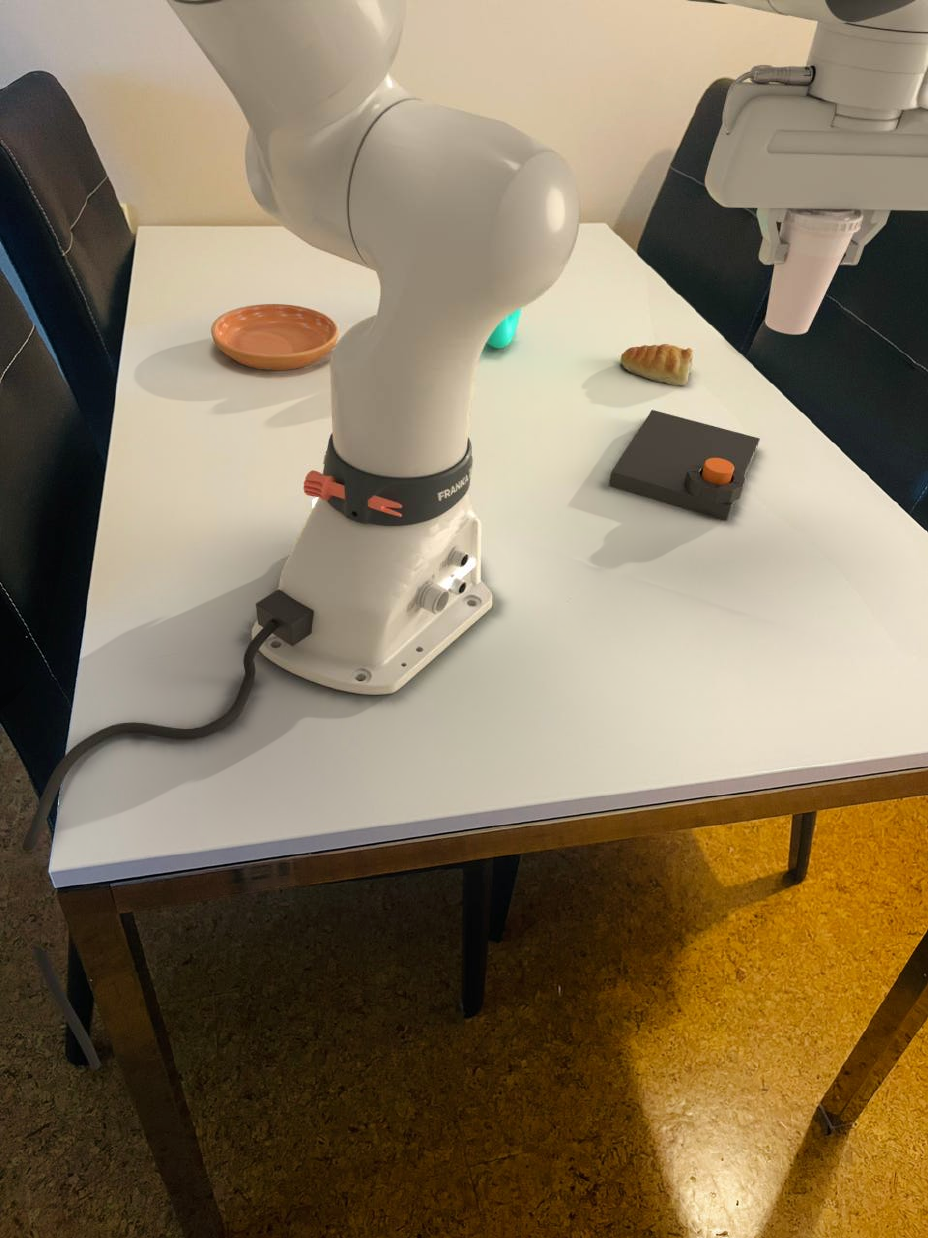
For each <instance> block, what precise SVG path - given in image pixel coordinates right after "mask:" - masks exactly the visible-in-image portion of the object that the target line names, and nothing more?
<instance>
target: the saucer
mask: <svg viewBox="0 0 928 1238" xmlns="http://www.w3.org/2000/svg"><path fill="white" fill-rule="evenodd" d="M210 333H211V337H212V340H213V343H214V345H215V346H216V347H217V348H218V349H219V350H220V351H222V352H223V353H224V354H225V355H226V356H228V357H230V358H231V359H232V360H234V361H235V362H237V363H238V364H241V365H244V366H246V367H248V368H249V367H250V368H253V369H258V370H266V371H287V370H294V369H301V368H304V367H307V366H310V365H312V364H314V363H316V362H317V361H319V360H320V359H322V358H323V356H325V355H326V354H328V353H329V352H330V351H331V349H332V348H334V347H335V346H336V344H337V342H338V336H339V329H338V326H337V324H336V322H335V321H334V320H333V319H332V318H331V317H329V316H328V315H326V314H324V313H323V312H320V311H318V310H315V309H313V308H309V307H304V306H301V305H296V304H295V305H294V304H285V303H284V304H283V303H262V304H253V305H245V306H241V307H238V308H235V309H234V308H233V309H232V310H229V311H226V312H224V313H223V314H221V315H219V317H217V318H216V319H215V320H214V321H213V323H212V325H211V328H210Z"/></svg>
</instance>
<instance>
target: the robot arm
mask: <svg viewBox="0 0 928 1238" xmlns="http://www.w3.org/2000/svg"><path fill="white" fill-rule="evenodd" d="M165 1H166V3H167V4H168V6H169V7H170V8H171V10H172V11H173V12H174V13H175V15H176V17H177V19H179V21H180V22H181V24H182V25H183V26H184V28H185V29H186V30H187V32H188V34H190V37H192V39H193V40H194V42H195V44H196V45H197V47H199V49H200V50H201V51H202V53H203V54H204V56H205V57H206V59H207V60H208V61H209V63H210V65H211V66H212V67H213V69H214V70H215V71H216V73H217V74H218V75H219V77H220V79H221V80H222V81H223V83H224V84H225V85H226V87H227V88H228V90H229V92H230V93H231V94H232V96H233V98H234V99H235V101H236V103H237V104H238V106H239V108H240V110H241V113H242V114H243V116H244V118H245V120H246V122H247V124H248V126H249V127H248V131H247V136H246V140H245V148H244V163H245V165H244V166H245V173H246V178H247V182H248V186H249V188H250V192H251V194H252V196H253V198H254V200H255V202H256V203H257V204H258V206H259V207H260V208H261V210H262V211H263V212H264V213H265V214H266V215H267V216H269V217H270V218H271V219H272V220H273V221H275V222H276V223H277V224H279V225H280V226H282V227H283V228H285V229H286V230H287V231H288V232H290V233H291V234H292V235H294V236H296V237H297V238H299V239H300V240H301V241H303V242H304V243H306V244H307V245H309V246H311V247H312V248H315V249H317V250H319V251H321V252H324V253H328V254H329V255H331V256H332V255H333V256H335V257H338V258H340V259H343V260H345V261H348V262H351V263H353V264H356V265H359V266H361V267H364V268H366V269H369V270H370V271H371V270H372V271H374V272H375V273H376V276H377V279H378V282H379V285H380V286H379V289H380V292H379V293H380V294H379V301H378V308H377V312H376V314H374V315H371V316H369V317H366V318H364V319H362V320H360V321H359V322H356V323H355V324H353V325H352V326H351V327H350V328H349V329H348V330H347V331H346V332H345V333H344V334H343V335H342V336H341V337H340V339H339V340H337V342H336V343H335V345H334V347H333V350H332V351H331V354H330V359H329V375H330V376H329V377H330V380H329V381H330V400H331V401H330V402H331V403H330V405H331V407H330V408H331V430H332V432H331V434H330V435H329V438H328V442H327V448H326V451H325V454H324V457H323V461H322V464H323V470H322V473H321V472H320V471H317V470H310V471H309V472H308V473H307V474H306V475H305V478H304V481H303V492H304V493H303V494H305V495H307V496H308V497H309V496H310V497H313V499H312V500H311V502H312V503H311V504H312V509H311V511H310V513H309V514H308V517H307V518H306V521H305V522H304V524H303V527H302V529H301V531H300V533H299V534H298V537H297V539H296V541H295V543H294V545H293V547H292V549H291V551H290V554H289V555H288V558H287V559H286V561H285V563H284V566H283V568H282V570H281V573H280V577H279V582H278V583H279V584H278V586H277V589H276V590H275V591H273V592H271V593H270V594H268V595H267V596H264V598H262V599H260V600H258V601H257V602H256V603H255V610H256V618H257V620H256V621H255V623H254V625H253V626H252V629H251V641H250V642H249V644H248V646H247V648H246V650H245V652H244V655H243V660H242V661H243V663H242V664H243V669H244V676H243V679H242V681H241V685H240V688H239V691H238V694H237V696H236V698H235V700H234V702H233V704H232V705H231V707H230V708H229V709H228V710H227V712H225V713H224V714H223V715H221V716H220V717H218V718H217V719H216V720H214V721H212V722H210V723H207V724H204V725H202V726H198V727H193V728H179V727H178V728H177V727H170V726H164V725H158V724H153V723H148V722H147V723H146V722H121V723H116V724H111V725H109V726H107V727H105V728H102V729H100V730H98V731H97V732H94V733H92V734H90V735H89V736H88V737H86V738H85V739H83V740H81V741H80V742H79V743H77V744H76V745H74V747H72V748H71V749H70V750H69V751H68V752H67V753H66V754H65V755H64V756H63V757H62V759H61V760H60V761H59V763H58V764H57V765H56V767H55V768H54V769H53V772H52V774H51V775H50V777H49V779H48V782H47V784H46V786H45V789H44V790H43V793H42V795H41V798H40V801H39V803H38V805H37V808H36V810H35V813H34V814H33V818H32V819H31V822H30V826H29V827H28V830H27V833H26V835H25V837H24V841H23V844H22V850H23V851H25V852H28V851H29V852H30V851H32V850H33V849H34V848H35V847H37V845H38V843H39V840H40V837H41V835H42V832H43V830H44V827H45V824H46V822H47V819H48V818H49V817H48V816H49V814H50V812H51V809H52V806H53V805H54V801H55V799H56V797H57V794H58V792H59V789H60V788H61V785H62V783H63V781H64V779H65V778H66V776H67V774H68V772H69V771H70V769H71V768H72V767H73V765H74V764H75V763H76V762H77V761H78V760H79V759H80V758H81V757H82V756H83V755H84V754H85V753H87V752H88V751H89V750H91V749H93V748H94V747H96V746H97V745H99V744H101V743H102V742H105V741H107V740H108V739H111V738H113V737H116V736H120V735H126V734H128V735H129V734H138V735H145V736H152V737H159V738H165V739H169V740H170V739H171V740H180V741H184V740H185V741H188V740H198V739H203V738H206V737H208V736H211V735H213V734H216V733H218V732H219V731H221V730H223V729H225V728H226V727H228V726H229V725H231V724H232V723H233V722H234V721H235V720H236V719H237V718H238V717H239V715H240V714H241V712H242V710H243V709H244V707H245V705H246V703H247V700H248V698H249V696H250V693H251V689H252V686H253V684H254V679H255V677H256V666H255V665H256V664H255V658H256V655H257V653H258V651H259V652H260V653H261V654H262V655H263V656H264V657H265V658H267V659H268V660H269V661H271V662H272V663H274V664H275V665H277V666H278V667H280V668H282V669H284V670H286V671H288V672H289V673H291V674H293V675H296V676H299V677H301V678H303V679H305V680H308V681H310V682H313V683H316V684H318V685H321V686H323V687H327V688H331V689H335V690H337V691H341V692H342V691H343V692H347V693H352V694H358V695H359V694H360V695H373V696H374V695H375V696H376V695H390V694H394V693H396V692H397V691H399V690H400V689H401V688H402V687H404V686H405V685H406V684H407V683H408V682H409V681H411V680H412V679H413V678H414V677H415V676H416V675H417V674H418V673H419V672H421V671H422V670H423V669H424V668H426V667H427V666H428V665H429V664H430V663H431V662H433V660H434V659H435V658H436V657H438V656H439V655H440V654H441V653H442V652H443V651H445V649H447V648H448V647H449V646H451V644H452V643H453V642H454V641H456V640H457V639H458V638H460V636H461V635H462V634H464V633H465V632H466V631H467V630H468V629H470V628H471V627H472V626H473V625H474V624H475V623H476V622H477V621H478V620H480V619H481V618H482V617H483V616H484V615H485V614H487V612H488V611H490V610H491V609H492V608H493V593H492V591H491V590H490V589H489V587H488V586H487V585H486V584H485V583H484V582H483V581H482V579H481V577H482V575H481V571H482V570H481V568H482V566H481V565H482V523H481V521H480V518H479V515H478V514H477V513H476V510H475V509H474V506H473V504H472V501H471V500H470V496H469V493H468V491H469V489H470V485H471V477H472V472H473V462H474V461H473V459H474V458H473V446H472V441H471V439H470V437H469V428H470V427H469V426H470V421H471V420H470V419H471V411H472V401H473V393H474V388H475V387H474V386H475V380H476V373H477V369H478V364H479V361H480V359H481V356H482V352H483V350H484V348H485V346H486V344H487V343H488V342H487V340H488V339H489V337H490V335H491V334H492V332H493V331H494V329H495V328H496V327H497V326H498V325H499V324H500V323H501V322H502V320H504V319H505V318H506V317H507V316H509V315H510V314H511V313H513V312H515V311H517V310H518V309H521V310H522V309H523V308H525V307H527V306H529V305H531V304H532V303H534V302H535V301H537V300H538V299H540V298H541V297H542V296H544V295H545V293H547V292H548V291H549V289H551V287H553V285H555V283H556V282H557V281H558V280H559V278H560V276H561V275H563V274H562V273H564V271H565V269H566V267H567V266H568V264H569V262H570V259H571V257H572V254H573V253H574V249H575V246H576V243H577V239H578V235H579V228H580V221H581V220H580V217H581V212H580V211H581V208H580V205H581V204H580V196H579V191H578V186H577V182H576V179H575V175H574V173H573V170H572V168H571V166H570V164H569V163H568V161H567V160H566V158H565V157H564V156H562V154H561V153H559V152H557V151H555V150H554V149H552V148H550V147H549V146H547V145H546V144H544V143H542V142H540V141H539V140H537V139H536V138H535V137H532V136H531V135H529V134H527V133H525V132H523V131H521V130H519V129H518V128H516V127H514V126H512V125H510V124H508V123H507V122H504V121H502V120H499V119H495V118H491V117H487V116H483V115H479V114H476V113H472V112H469V111H468V112H467V111H464V110H461V109H455V108H453V107H449V106H445V105H441V104H438V103H433V102H430V101H427V100H425V99H422V98H419V97H416V96H415V95H413V93H411V92H410V91H408V90H406V89H405V88H404V87H403V86H402V85H400V84H399V82H398V81H396V79H395V78H394V77H393V76H392V75H391V73H390V71H391V69H392V67H393V64H394V62H395V60H396V58H397V54H398V51H399V48H400V45H401V40H402V37H403V36H402V35H403V31H404V25H405V21H406V12H407V11H406V10H407V9H406V5H407V4H406V3H407V2H406V0H165ZM686 1H688V2H696V3H706V4H718V5H734V6H738V7H744V8H748V9H753V10H757V11H762V12H767V13H771V14H776V15H780V16H786V17H788V16H789V17H794V18H799V19H804V20H809V21H813V22H817V24H816V28H815V31H814V34H813V37H812V41H811V45H810V49H809V52H808V56H807V60H806V63H805V66H800V65H799V66H796V65H795V66H794V65H792V66H791V65H790V66H773V65H769V64H760V65H759V64H758V65H755V66H753V67H752V68H751V70H750V71H746V72H744V73H742V74H741V75H739V77H737V78H736V79H735V80H734V82H732V83H731V84H730V86H729V88H728V91H727V94H726V98H725V102H724V106H723V110H722V124H721V126H720V129H719V132H718V135H717V137H716V139H715V143H714V146H713V149H712V151H711V155H710V159H709V161H708V165H707V169H706V172H705V176H704V185H705V188H706V190H707V192H708V194H709V196H710V197H711V198H712V199H713V200H714V201H715V202H716V203H717V204H719V205H720V206H722V207H724V208H740V209H741V208H747V209H748V208H749V209H757V210H756V218H757V222H758V225H759V230H760V233H761V236H762V240H761V244H760V248H759V252H758V261H760V262H761V263H762V264H763V265H765V266H767V265H768V266H770V265H775V264H783V262H784V260H785V256H784V255H785V254H786V253H787V250H788V247H789V244H788V243H787V242H785V241H783V240H782V239H781V238H780V237H779V234H780V233H779V230H778V225H777V223H782V222H783V221H784V218H785V215H786V211H787V208H800V209H859V210H860V211H861V212H862V214H863V219H862V222H861V225H860V229H859V230H858V231H857V232H854V234H853V235H852V238H851V240H850V242H849V244H848V247H847V249H846V251H845V253H844V255H843V257H842V259H841V261H840V263H839V265H838V266H856V265H858V263H859V262H860V259H861V256H862V254H863V251H864V248H865V246H866V245H867V244H868V243H869V242H870V241H871V240H872V239H873V238H874V237H875V236H876V235H877V234H878V233H879V232H880V231H881V230H882V229H883V227H884V226H886V224H887V221H888V218H889V216H890V213H891V211H928V0H686ZM748 79H749V81H747V80H748ZM31 947H32V950H33V954H34V957H35V960H36V962H37V966H38V968H39V970H40V973H41V975H42V977H43V980H44V982H45V984H46V986H47V989H48V991H49V992H50V994H51V996H52V998H53V1000H54V1001H55V1003H56V1005H57V1007H58V1008H59V1010H60V1012H61V1014H62V1015H63V1017H64V1019H65V1021H66V1022H67V1024H68V1026H69V1027H70V1029H71V1031H72V1032H73V1034H74V1036H75V1038H76V1040H77V1043H79V1046H80V1047H81V1049H82V1051H83V1054H84V1056H85V1057H86V1059H87V1061H88V1064H89V1066H90V1069H91V1071H98V1070H99V1068H101V1065H102V1063H101V1061H100V1059H99V1057H98V1054H97V1051H96V1049H95V1047H94V1045H93V1043H92V1041H91V1039H90V1037H89V1034H88V1033H87V1031H86V1029H85V1028H84V1025H83V1024H82V1022H81V1020H80V1018H79V1017H78V1015H77V1013H76V1011H75V1009H74V1008H73V1006H72V1005H71V1002H70V1001H69V999H68V997H67V996H66V993H65V992H64V989H63V987H62V986H61V983H60V982H59V979H58V978H57V974H56V973H55V970H54V969H53V965H52V963H51V959H50V956H49V954H48V951H47V950H44V949H43V948H41V947H39V946H37V945H35V944H34V943H31Z"/></svg>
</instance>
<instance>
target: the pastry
mask: <svg viewBox="0 0 928 1238" xmlns="http://www.w3.org/2000/svg"><path fill="white" fill-rule="evenodd" d="M620 355H621V356H620V364H621V365H622V366H623V368H624V369H625V370H627V371H628V372H629V373H632V374H634V375H637V376H639V377H642V378H644V379H647V380H651V381H653V382H658V383H665V384H667V385H672V386H684V385H686V384H687V382H688V380H689V376H690V373H691V372H692V370H693V358H694V357H693V356H694V350H693V349H692V348H691V347H688V348H682V347H679V346H676V345H670V344H668V343H663V344H659V345H658V344H652V345H647V344H644V345H641V346H633V347H628V348H627V349H626V350H624V352H623V353H622V354H620Z"/></svg>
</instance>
